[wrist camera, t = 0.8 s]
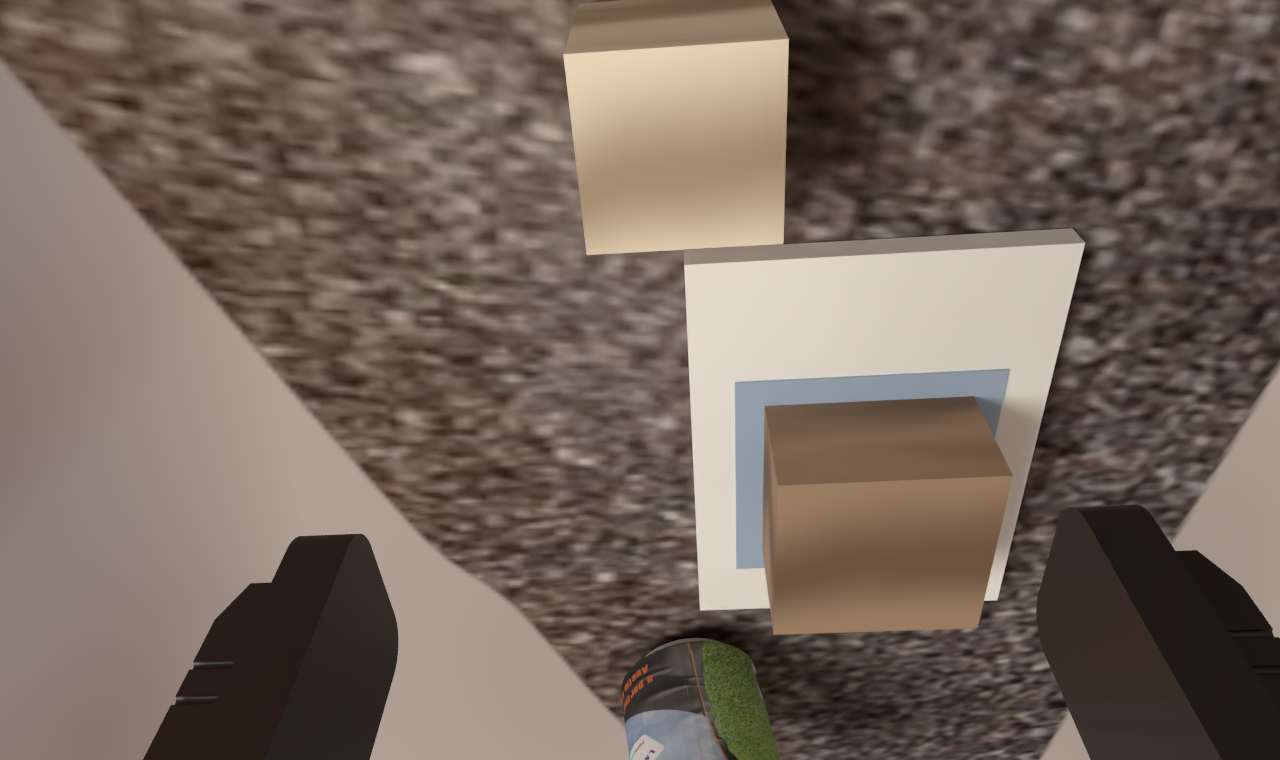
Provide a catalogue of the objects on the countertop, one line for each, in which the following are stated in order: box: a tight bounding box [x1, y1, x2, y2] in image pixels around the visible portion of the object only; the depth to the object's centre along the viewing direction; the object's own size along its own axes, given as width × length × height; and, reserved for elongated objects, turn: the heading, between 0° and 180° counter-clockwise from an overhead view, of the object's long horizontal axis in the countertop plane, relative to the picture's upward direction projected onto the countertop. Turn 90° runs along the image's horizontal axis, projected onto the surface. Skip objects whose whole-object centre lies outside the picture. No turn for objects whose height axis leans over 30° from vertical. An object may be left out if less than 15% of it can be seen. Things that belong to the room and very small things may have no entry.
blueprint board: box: [684, 228, 1085, 610], centre depth 32 cm, size 16×12×1 cm
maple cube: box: [563, 0, 789, 255], centre depth 23 cm, size 5×5×5 cm
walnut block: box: [762, 396, 1013, 635], centre depth 30 cm, size 7×7×4 cm
